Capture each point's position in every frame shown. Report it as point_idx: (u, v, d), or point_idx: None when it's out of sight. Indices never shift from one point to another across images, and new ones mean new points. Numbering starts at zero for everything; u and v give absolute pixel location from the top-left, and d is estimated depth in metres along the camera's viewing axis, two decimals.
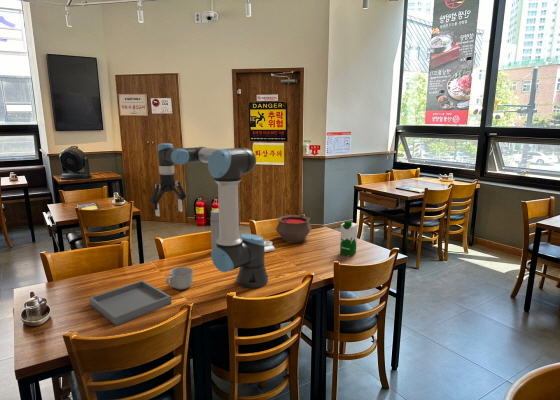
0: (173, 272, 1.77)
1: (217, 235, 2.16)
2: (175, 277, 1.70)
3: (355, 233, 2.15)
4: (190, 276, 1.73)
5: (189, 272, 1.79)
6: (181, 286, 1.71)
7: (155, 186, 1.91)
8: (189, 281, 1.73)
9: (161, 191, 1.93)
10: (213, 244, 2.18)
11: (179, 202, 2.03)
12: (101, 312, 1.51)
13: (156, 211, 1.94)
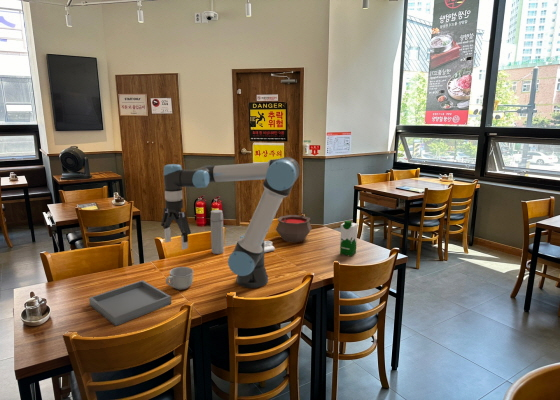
0: (173, 272, 1.77)
1: (217, 235, 2.16)
2: (175, 277, 1.70)
3: (355, 233, 2.15)
4: (190, 276, 1.73)
5: (189, 272, 1.79)
6: (181, 286, 1.71)
7: None
8: (189, 281, 1.73)
9: None
10: (213, 244, 2.18)
11: None
12: (101, 312, 1.51)
13: None
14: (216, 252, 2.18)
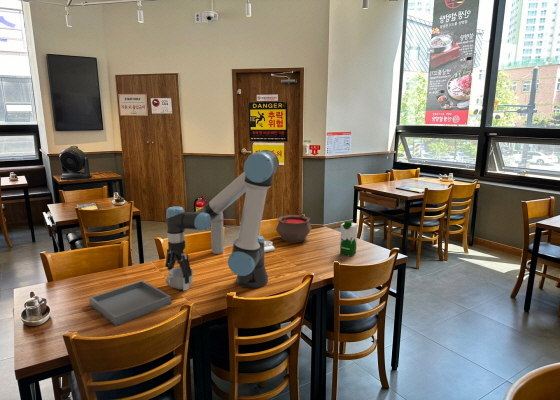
0: (173, 272, 1.77)
1: (217, 235, 2.16)
2: (175, 277, 1.70)
3: (355, 233, 2.15)
4: (190, 276, 1.73)
5: None
6: (181, 286, 1.71)
7: None
8: (189, 281, 1.73)
9: None
10: (213, 244, 2.18)
11: None
12: (101, 312, 1.51)
13: None
14: (216, 252, 2.18)
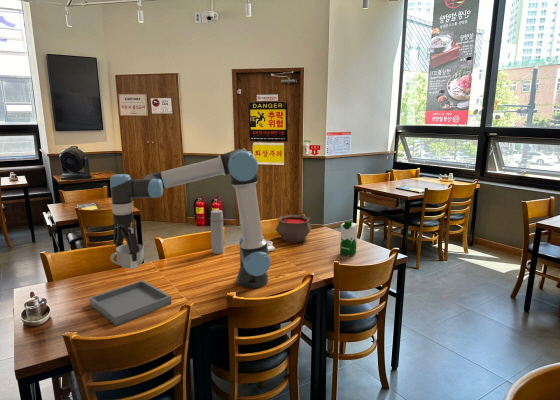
0: (121, 249, 1.58)
1: (217, 235, 2.16)
2: (121, 254, 1.51)
3: (355, 233, 2.15)
4: (139, 254, 1.54)
5: (140, 249, 1.60)
6: (128, 264, 1.52)
7: None
8: (138, 258, 1.54)
9: None
10: (213, 244, 2.18)
11: None
12: (101, 312, 1.51)
13: None
14: (216, 252, 2.18)
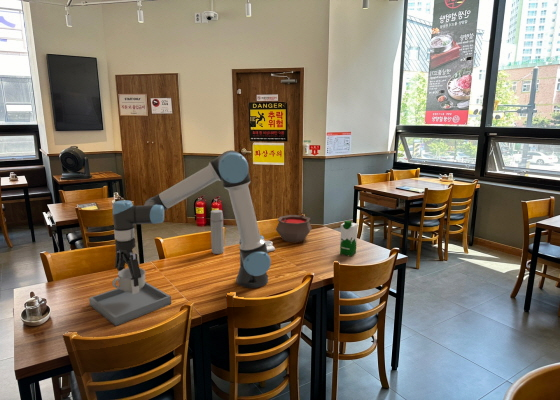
0: (123, 273, 1.60)
1: (217, 235, 2.16)
2: (123, 279, 1.53)
3: (355, 233, 2.15)
4: (141, 278, 1.56)
5: (141, 273, 1.62)
6: (130, 289, 1.54)
7: None
8: (140, 283, 1.56)
9: None
10: (213, 244, 2.18)
11: None
12: (101, 312, 1.51)
13: None
14: (216, 252, 2.18)
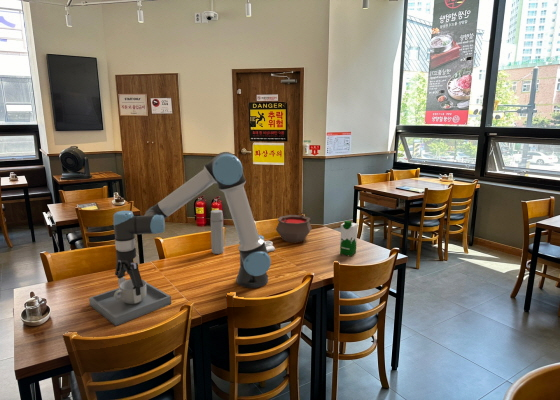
0: (125, 285, 1.61)
1: (217, 235, 2.16)
2: (125, 291, 1.54)
3: (355, 233, 2.15)
4: (142, 290, 1.57)
5: (143, 284, 1.63)
6: (132, 301, 1.55)
7: None
8: (141, 295, 1.57)
9: None
10: (213, 244, 2.18)
11: None
12: (101, 312, 1.51)
13: None
14: (216, 252, 2.18)
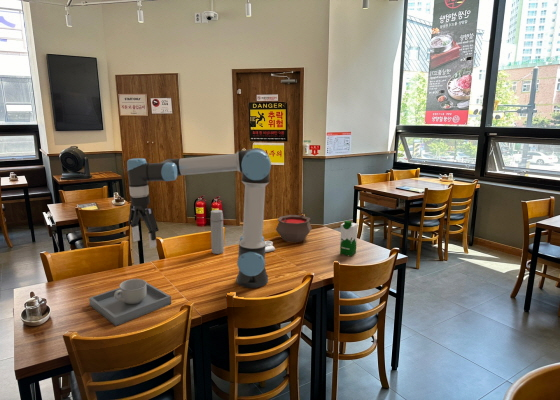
0: (125, 285, 1.61)
1: (217, 235, 2.16)
2: (125, 291, 1.54)
3: (355, 233, 2.15)
4: (142, 290, 1.57)
5: (143, 285, 1.63)
6: (132, 301, 1.55)
7: None
8: (141, 295, 1.57)
9: None
10: (213, 244, 2.18)
11: None
12: (101, 312, 1.51)
13: None
14: (216, 252, 2.18)
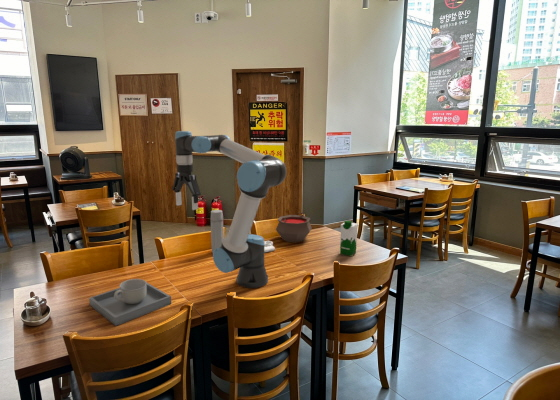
0: (125, 285, 1.61)
1: (217, 235, 2.16)
2: (125, 291, 1.54)
3: (355, 233, 2.15)
4: (142, 290, 1.57)
5: (143, 285, 1.63)
6: (132, 301, 1.55)
7: None
8: (142, 295, 1.57)
9: None
10: (213, 244, 2.18)
11: None
12: (101, 312, 1.51)
13: None
14: None
